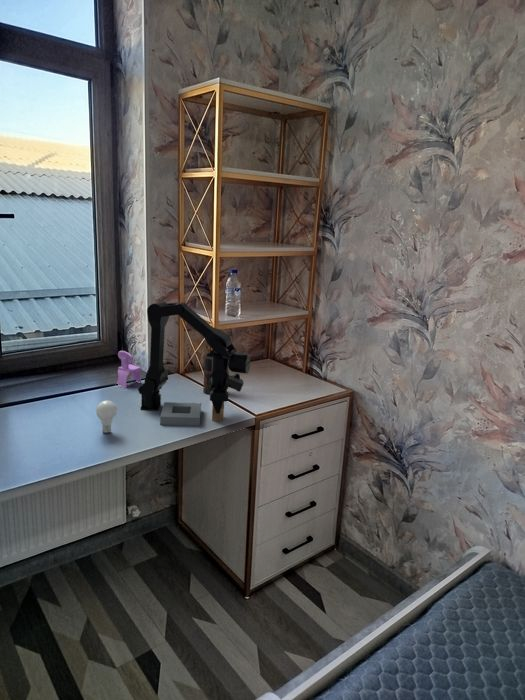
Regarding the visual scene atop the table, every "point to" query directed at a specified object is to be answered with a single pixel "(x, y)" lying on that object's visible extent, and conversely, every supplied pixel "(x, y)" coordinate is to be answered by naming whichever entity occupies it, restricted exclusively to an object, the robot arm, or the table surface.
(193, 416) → the socket block
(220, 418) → the peg
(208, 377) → the deodorant
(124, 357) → the toy chair
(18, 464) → the table surface
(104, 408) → the lightbulb
